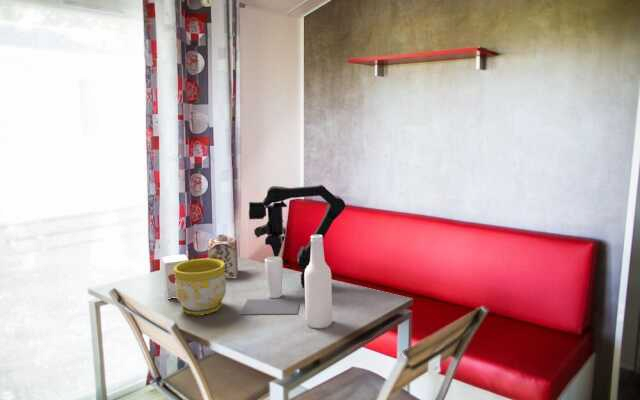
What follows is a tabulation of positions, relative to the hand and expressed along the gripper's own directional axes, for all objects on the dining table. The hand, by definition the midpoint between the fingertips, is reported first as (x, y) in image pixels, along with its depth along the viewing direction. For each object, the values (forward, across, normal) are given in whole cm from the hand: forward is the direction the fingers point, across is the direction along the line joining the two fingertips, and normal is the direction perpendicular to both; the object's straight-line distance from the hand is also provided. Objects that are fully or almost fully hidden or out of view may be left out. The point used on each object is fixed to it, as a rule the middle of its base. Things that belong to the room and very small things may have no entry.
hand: (276, 256), depth 197 cm
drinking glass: (+13, +10, 0) cm, 17 cm away
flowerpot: (+13, +22, -25) cm, 36 cm away
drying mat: (+13, +21, 0) cm, 25 cm away
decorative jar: (+13, -17, -26) cm, 34 cm away
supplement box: (+13, +7, -39) cm, 42 cm away
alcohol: (+13, +36, +18) cm, 42 cm away
